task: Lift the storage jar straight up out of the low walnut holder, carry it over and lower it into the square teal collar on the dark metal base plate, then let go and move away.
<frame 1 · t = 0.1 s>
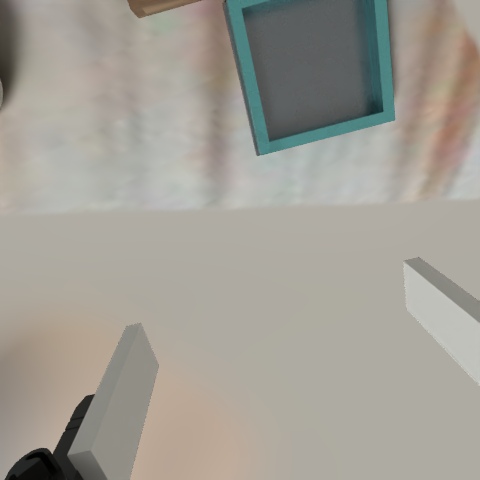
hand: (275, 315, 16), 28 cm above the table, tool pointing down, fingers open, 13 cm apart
collar plate: (308, 67, 38), on the table
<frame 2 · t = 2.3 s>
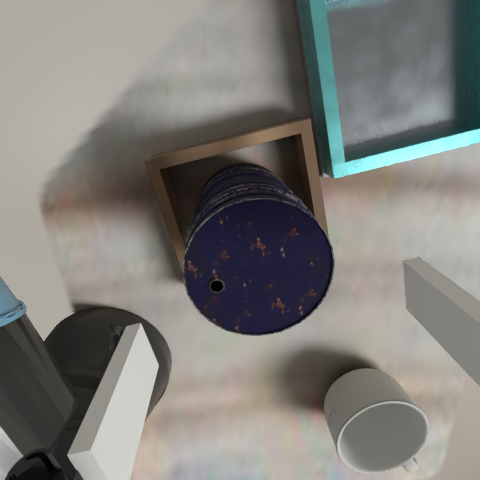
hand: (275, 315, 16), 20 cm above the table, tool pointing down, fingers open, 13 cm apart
walnut holder: (243, 209, 35), on the table
collar plate: (391, 71, 31), on the table
teacup: (360, 393, 45), on the table
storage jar: (243, 209, 35), resting in walnut holder
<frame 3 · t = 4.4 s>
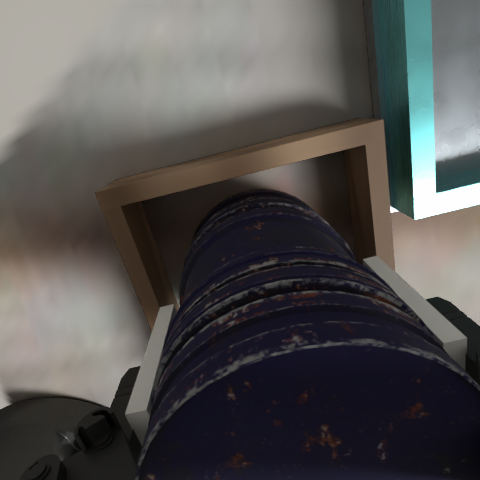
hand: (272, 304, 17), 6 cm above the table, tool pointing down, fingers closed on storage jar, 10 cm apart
walnut holder: (260, 259, 23), on the table
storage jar: (260, 258, 23), resting in walnut holder, touching gripper
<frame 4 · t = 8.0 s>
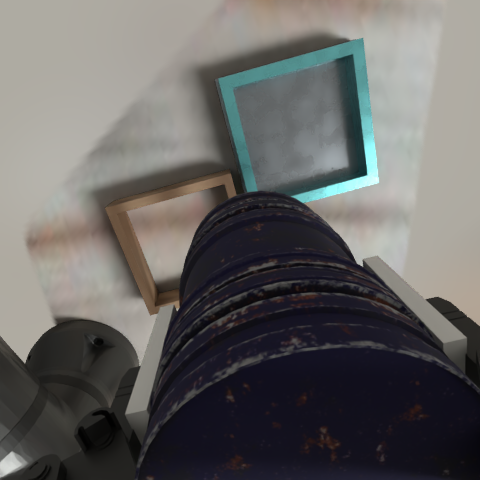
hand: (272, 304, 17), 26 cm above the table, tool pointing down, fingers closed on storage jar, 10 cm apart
walnut holder: (189, 239, 44), on the table
collar plate: (296, 133, 40), on the table
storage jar: (260, 258, 23), point 21 cm above the table, touching gripper
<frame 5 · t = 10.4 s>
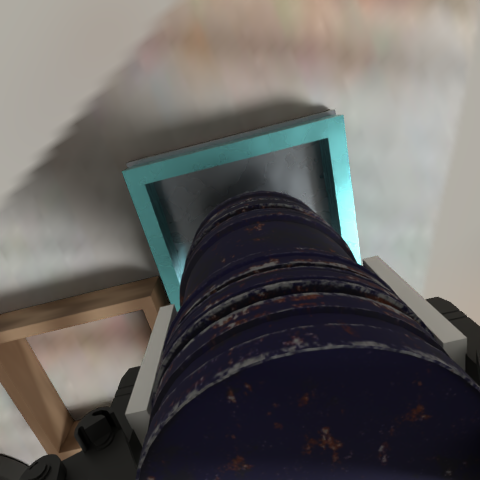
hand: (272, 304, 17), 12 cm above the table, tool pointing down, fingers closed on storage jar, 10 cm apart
walnut holder: (109, 360, 32), on the table
collar plate: (252, 230, 28), on the table
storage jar: (260, 258, 23), point 6 cm above the table, touching gripper
when the fingers open (9 cm above the table, at t = 11.9 s): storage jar drops 2 cm, resting on collar plate.
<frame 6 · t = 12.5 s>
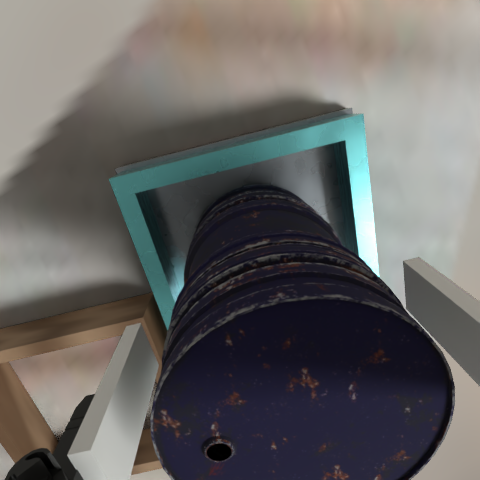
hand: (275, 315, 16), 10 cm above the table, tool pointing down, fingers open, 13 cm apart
walnut holder: (100, 382, 29), on the table
collar plate: (256, 243, 25), on the table
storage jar: (257, 247, 25), point 1 cm above the table, touching collar plate
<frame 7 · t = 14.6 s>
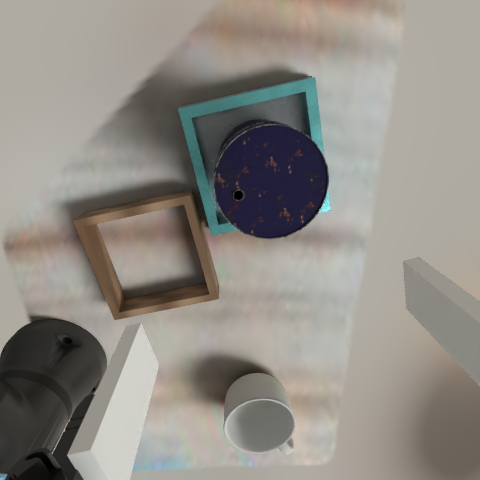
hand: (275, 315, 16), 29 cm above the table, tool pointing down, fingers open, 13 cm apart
walnut holder: (155, 251, 46), on the table
collar plate: (256, 158, 42), on the table
teacup: (260, 392, 57), on the table
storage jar: (257, 160, 41), point 1 cm above the table, touching collar plate
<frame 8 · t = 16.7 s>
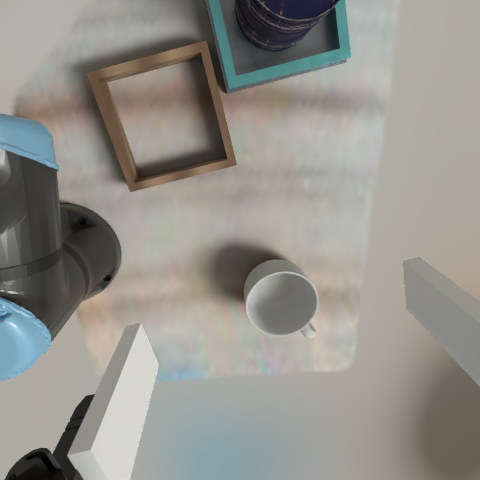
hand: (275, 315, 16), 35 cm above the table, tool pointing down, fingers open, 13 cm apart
walnut holder: (169, 121, 45), on the table
collar plate: (273, 9, 41), on the table
teacup: (278, 287, 56), on the table
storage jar: (274, 7, 40), point 1 cm above the table, touching collar plate
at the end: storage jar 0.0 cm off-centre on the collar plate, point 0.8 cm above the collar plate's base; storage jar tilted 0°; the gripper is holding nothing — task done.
